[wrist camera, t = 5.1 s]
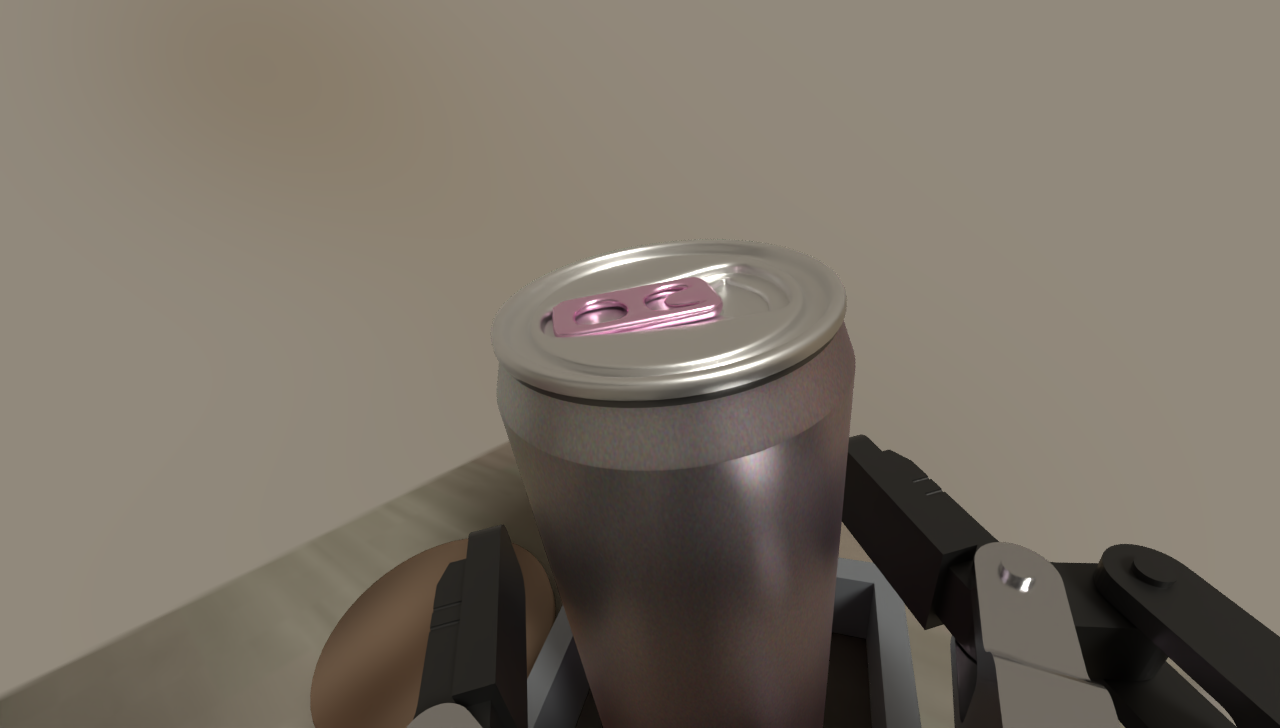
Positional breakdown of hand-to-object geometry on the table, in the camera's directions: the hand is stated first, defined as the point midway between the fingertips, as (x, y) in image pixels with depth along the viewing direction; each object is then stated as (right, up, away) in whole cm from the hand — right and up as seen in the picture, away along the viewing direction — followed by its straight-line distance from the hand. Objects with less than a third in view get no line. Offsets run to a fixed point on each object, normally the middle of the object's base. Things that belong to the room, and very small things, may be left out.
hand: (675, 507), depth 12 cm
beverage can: (+2, -8, +3) cm, 9 cm away
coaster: (-9, -7, +8) cm, 14 cm away
